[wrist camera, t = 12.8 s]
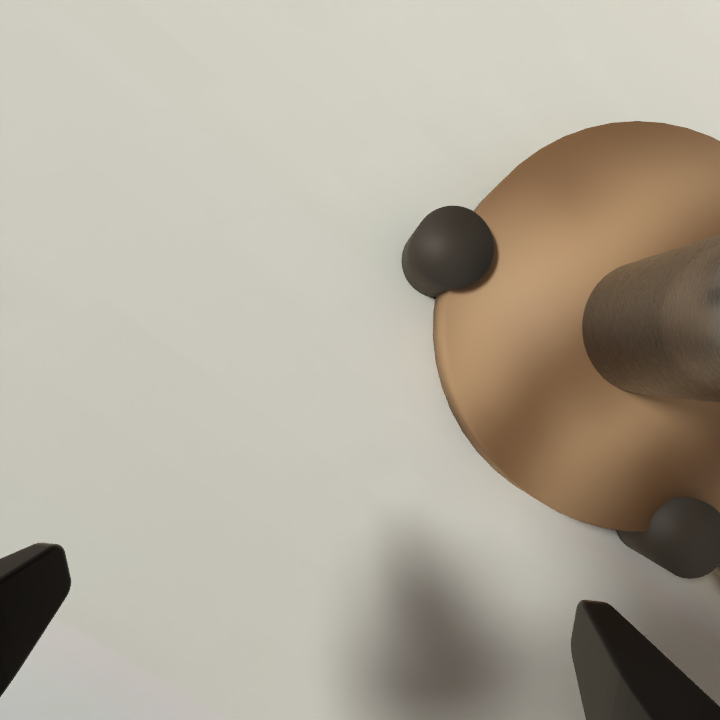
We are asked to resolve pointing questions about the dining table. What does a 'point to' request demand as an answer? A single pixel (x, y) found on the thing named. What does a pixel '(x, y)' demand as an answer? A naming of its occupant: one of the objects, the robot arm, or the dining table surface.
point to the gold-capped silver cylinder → (659, 324)
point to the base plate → (577, 334)
